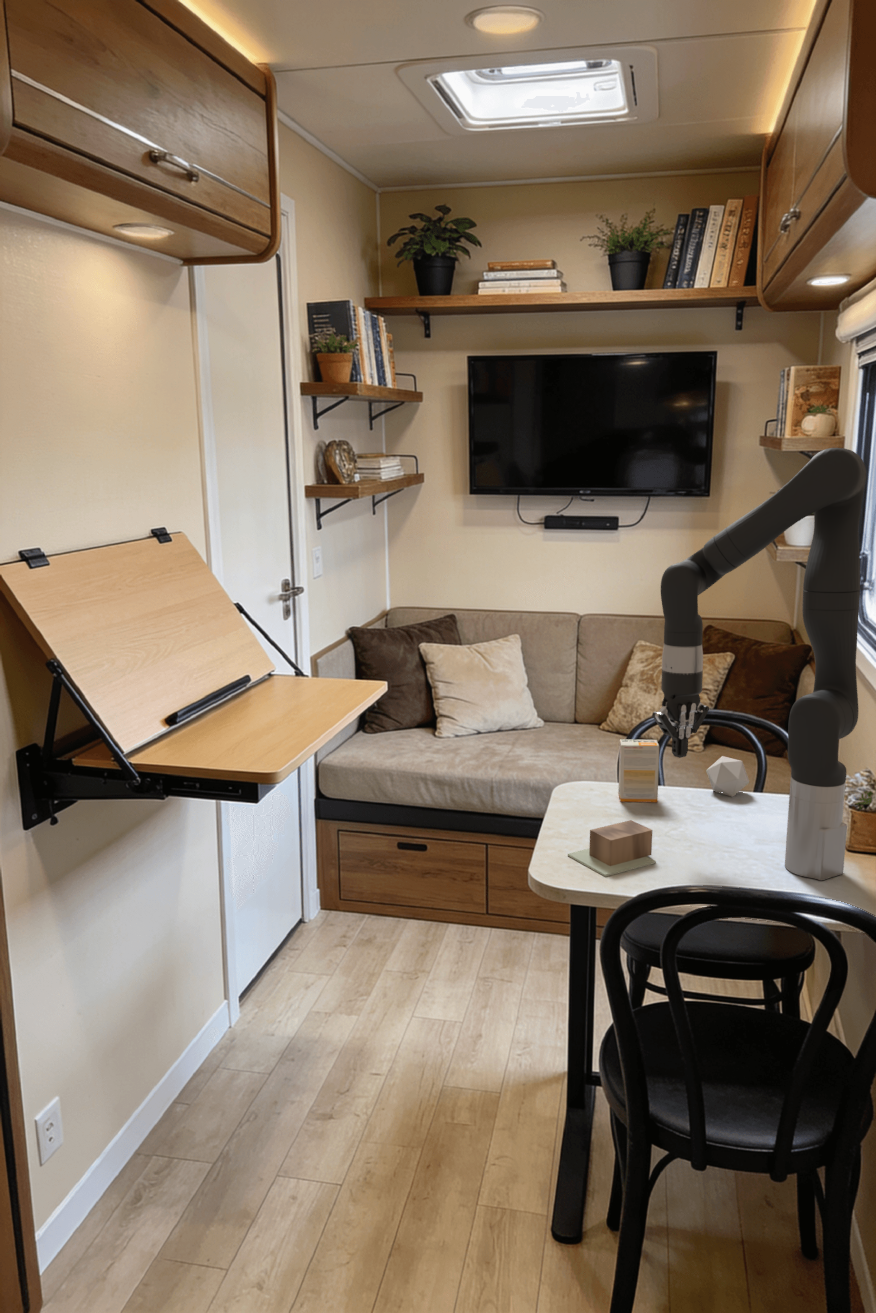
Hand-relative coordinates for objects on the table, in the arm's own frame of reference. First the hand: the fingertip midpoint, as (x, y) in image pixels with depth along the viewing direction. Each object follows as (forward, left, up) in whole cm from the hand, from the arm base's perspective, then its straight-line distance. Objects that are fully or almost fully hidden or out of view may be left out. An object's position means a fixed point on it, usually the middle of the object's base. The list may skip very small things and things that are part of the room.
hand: (679, 756), depth 191 cm
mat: (0, +16, -18) cm, 24 cm away
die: (+16, -31, -18) cm, 39 cm away
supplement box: (+23, -11, -18) cm, 31 cm away
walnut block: (0, +9, -15) cm, 17 cm away
